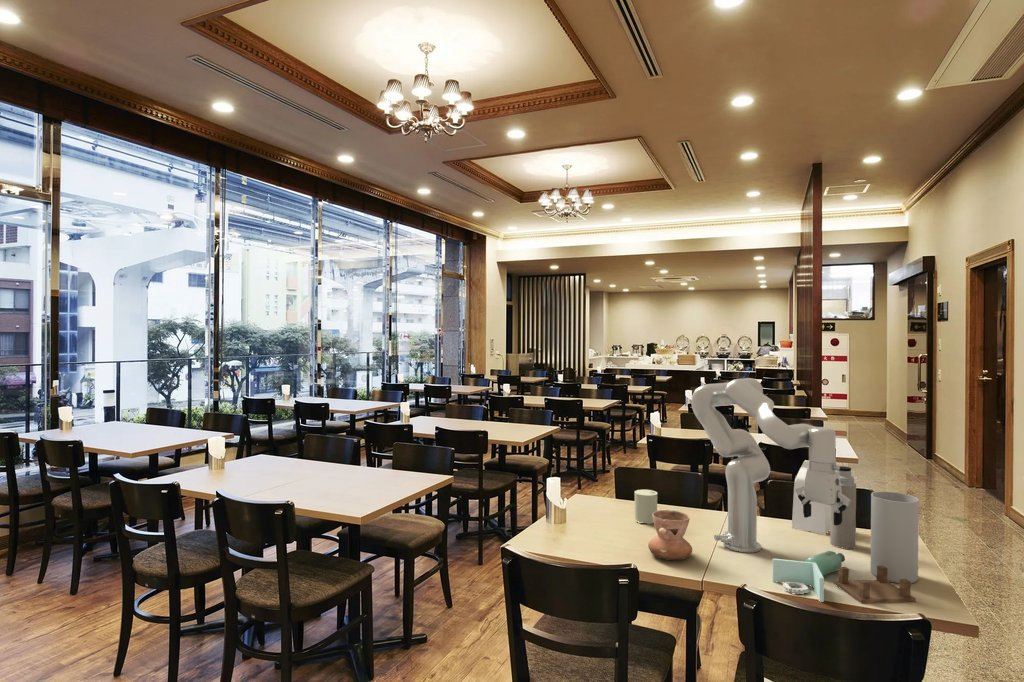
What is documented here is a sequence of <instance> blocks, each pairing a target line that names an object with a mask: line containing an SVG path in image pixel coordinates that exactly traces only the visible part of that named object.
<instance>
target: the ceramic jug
mask: <svg viewBox="0 0 1024 682" xmlns="http://www.w3.org/2000/svg"><path fill="white" fill-rule="evenodd" d="M652 517H653V522H654V524H653V525H654V529H655V531H656V533H657V535H655V536H653V537H652V538H651V539H650V540H649V541H648V544H647V545H648V547H647V548H648V550H649V551H650V553H651V554H652V555H654V557H657V558H659V559H662V560H666V559H667V560H668V561H680V560H685V559H687V558H689V557H690V556H691V554H693V546H692V545H691V543H690V542H689V541H687V539H685V538H684V535H685V533H686V532H687V528H688V526H689V523H690V516H689V515H688V514H687V513H685V512H682V511H679V510H676V509H675V510H669V509H660V510H657V511H655V512H653V513H652Z"/></svg>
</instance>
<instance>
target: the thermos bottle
mask: <svg viewBox="0 0 1024 682" xmlns="http://www.w3.org/2000/svg"><path fill="white" fill-rule="evenodd" d="M838 466H839V467H840V469H839V470H836V472H838V473H839V477H840V482H841V490H842V494H843V495H844V496H846V497H847V498H849V499H850V500H851V503H850V504H849V506H848V508H847V509H845V510H844V511H843V512H842V523H841V524H840V525H837V526H836V525H834V512H836V511H835V510H834V508H833V507H832V506H831V527H830V531H829V532H830V534H829V535H830V537H829V538H830V539H829V540H830V543H829V544H830V545H831V546H833V545H834V547H836V546H838V547H837V548H839V547H843V548H842V549H845V548H852V549H855V548H856V545H857V544H856V543H857V542H856V541H857V539H856V538H857V533H856V532H857V531H856V530H857V528H856V527H857V523H856V522H857V521H856V519H857V518H856V517H857V516H856V513H857V483H855V477H854V476H852V468H851V467H850V466H843V465H838ZM843 503H844V502H843V500H842V502H841V503H840V504H841V506H842V505H843ZM854 547H855V548H854Z"/></svg>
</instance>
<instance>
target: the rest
mask: <svg viewBox="0 0 1024 682" xmlns="http://www.w3.org/2000/svg"><path fill="white" fill-rule="evenodd" d="M849 570H850V569H849V568H848V567H847V566H841V567H839V570H838V580H834V581H833V585H835V584H836V585H837V586H836V585H835V586H836V587H838V588H839V587H840V588H841V590H842V591H843V590H844V591H843V592H844V593H846V594H847V593H848V594H847V595H849V596H850V597H852V598H853V599H854V600H856V601H857V600H858V603H860V602H861V603H860V604H876V603H877V602H878V604H881V603H884V602H888V603H917V599H916V597H914V596H913V595H912V593H911V592H912V589H911V588H912V583H911V581H909V580H907V579H900V583H899V587H898V586H897V585H895V584H893V583H892V582H889V581H887V568H886V567H885V566H877V577H876V579H851V580H850V576H849V573H850V571H849ZM840 588H839V589H840ZM879 602H880V603H879ZM884 604H885V603H884Z"/></svg>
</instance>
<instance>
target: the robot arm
mask: <svg viewBox="0 0 1024 682" xmlns="http://www.w3.org/2000/svg"><path fill="white" fill-rule="evenodd" d="M690 402H691V409H692V411H693V414H694V416H695V418H696V419H697V420H698V422H699V423H700V424H701V425H702V427H703V429H704V432H705V433H706V435H707V437H708V438H709V440H710V442H711V444H712V446H713V448H714V449H715V451H716V452H717V453H718V455H719V456H721V457H723V458H732V457H733V459H732V460H730V461H729V462H728V463H727V465H726V467H725V478H726V479H725V480H726V484H727V531H725V532H724V533H723V534H715V535H714V536H713V537H714V538H713V539H714V540H715V541H719V542H721V543H722V544H723V546H724V547H725V548H726V547H727V548H726V549H728V550H731V551H734V552H738V551H739V552H740V553H757V552H760V551H761V550H762V545H761V543H760V542H758V541H757V537H758V536H757V532H758V531H757V525H758V523H757V522H758V520H757V519H758V515H757V514H758V512H757V511H758V510H757V509H758V508H757V507H758V503H757V499H758V498H757V493H756V490H755V487H754V484H755V483H759V482H763V481H765V480H766V479H768V478H769V476H770V473H771V466H770V463H769V460H768V459H767V457H766V456H765V454H764V452H763V450H762V449H761V447H760V446H759V444H758V443H757V441H756V440H755V438H754V436H753V435H752V434H750V432H748V431H747V430H745V429H742V428H736V429H733V428H732V427H731V426H730V425H729V423H728V421H727V419H726V417H725V416H724V415H723V414H722V413H721V411H719V410H717V409H716V407H721V406H730V405H737V406H738V407H739V408H740V409H742V410H743V411H745V412H746V413H747V414H748V415H750V416H751V417H752V418H753V419H754V420H756V423H757V425H758V427H759V428H760V430H761V432H762V433H763V434H764V435H765V436H766V437H767V438H769V439H770V440H771V441H773V442H774V443H775V444H777V446H780V447H782V448H783V449H787V450H795V449H799V448H805V447H808V461H809V469H807V473H806V477H805V486H803V487H800V488H797V489H795V491H796V493H797V495H798V498H799V499H800V501H801V503H802V504H803V513H804V517H805V518H807V517H810V516H811V504H810V502H811V501H814V502H818V503H822V504H827V505H831V506H832V507H833V508H834V510H835V511H836V512H834V525H836V526H837V525H840V524H841V523H842V512H843V511H844V510H845V509H847V508H848V506H849V504H850V503H851V500H850V499H849V498H847V497H846V496H844V495H843V494H842V490H841V482H840V477H839V473H838V472H836V470H839V469H840V467H839V466H840V465H837V461H836V454H837V453H836V452H837V451H836V443H837V441H836V436H837V435H836V431H835V429H834V428H831V427H826V426H825V427H824V426H814V425H811V424H807V423H794V424H790V425H789V424H787V423H786V422H784V421H783V420H782V419H780V418H779V417H778V416H776V414H775V413H774V412H773V410H774V408H775V402H774V401H773V400H772V399H771V398H769V397H768V396H767V395H765V394H764V390H763V385H762V384H761V383H760V381H758V380H757V379H755V378H753V377H752V378H751V377H745V378H743V377H742V378H736V379H735V378H734V379H732V380H730V381H729V382H728V381H727V382H718V383H707V384H703V385H700V386H699V387H697V388H695V390H694V391H693V393H692V395H691V401H690ZM734 457H735V458H734ZM802 491H804V495H805V496H804V495H803V493H802ZM842 500H843V502H844V503H843V505H842V506H841V504H840V503H841V502H842Z"/></svg>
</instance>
